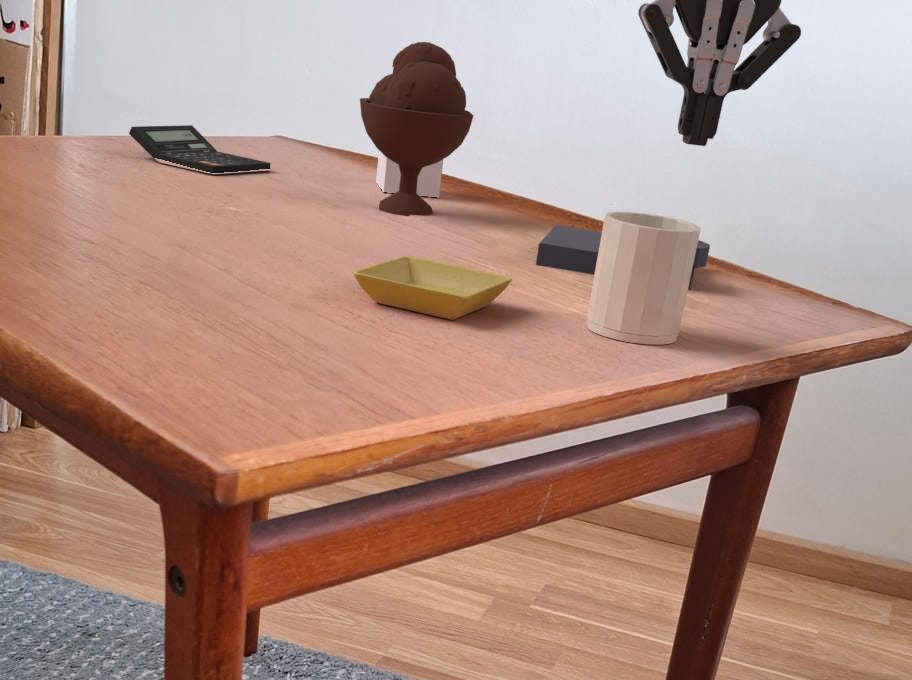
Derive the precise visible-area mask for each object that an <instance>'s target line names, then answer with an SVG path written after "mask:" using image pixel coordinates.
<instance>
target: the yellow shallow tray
mask: <svg viewBox="0 0 912 680" xmlns="http://www.w3.org/2000/svg"><path fill="white" fill-rule="evenodd" d="M352 274H353V277H354V278H355V280H356V282H357V283H358V285H359V286H360V287H361V288H362V290H363V291H364V292H365V293H366V295H367V296H368V297H369V298H370V299H371V300H372V301H373V302H375V303H376V304H380V305H385V306H390V307H393V308H398V309H402V310H407V311H411V312H416V313H420V314H424V315H428V316H433V317H438V318H442V319H446V320H451V321H452V320H457V319H460V318H461V317H463V316H465V315H468V314H470V313H472V312H475V311H477V310H479V309H482V308H484V307H486V306H488V305H489V304H491V303H492V302H493V301H495V300H496V299H497V298H498V297H499V296H500V295H501V294H502V293H503V292H504V291H505V290H506V289H507V288H508V287H509V285H510V284H511V283H512V281H513V278H511V277H509V276H506V275H501V274H497V273H493V272H492V273H491V272H487V271H484V270H477V269H474V268H473V269H472V268H469V267H463V266H459V265H455V264H449V263H445V262H440V261H435V260H432V259H431V260H430V259H426V258H422V257H416V256H410V255H409V256H407V255H404V256H400V257H397V258H393V259H390V260H387V261H383V262H381V263H377V264H373V265H370V266H366V267H363V268H360V269H356V270H354V271H353V273H352Z"/></svg>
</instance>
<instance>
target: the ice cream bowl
mask: <svg viewBox="0 0 912 680" xmlns="http://www.w3.org/2000/svg"><path fill="white" fill-rule="evenodd" d="M391 66H392V73H390V74H387V75H385V76H383V78H381V79H380V80H378V82H376V84H375V85H374V87H373V88H372V90H371V93H370V94H369V96H368V97H361V98H359V103H360V104H359V105H360V106H359V107H360V116H361V119H362V123H363V127H364V130H365V132H366V134H367V136H368V137H369V139H370V140H371V142H372V143H373V145H374V147H376V149H377V150H378V151H379V150H380V151H381V152H382V153H383V154H384V155H385V156H386V157H387V158H388V159H390V160H392V161H393V162H395V163H396V164H398V165H399V169H400V173H401V178H400V185H399V191H398V192H396V193H394V194H390V195H388V196H387V197H385V198H383V199H381V200H380V201H379V204H378V206H379V207H378V209H379V210H381V211H383V212H387V213H389V214H394V215H395V214H397V215H403V216H408V217H409V216H431V215H434V211H433V208H432V206H431V204H429V203H428V202H426V200H425V199H424V198H423V197H421V196H419V195H418V194H417V180H418V175H419V173H420V171H421V169H422V168H423V167H426V166H429V165H432V164H435V163H438V162H439V161H441V160H443V161H444V159H447V158H448V157H449V156H450V155H452V154H453V153H454V152H456V150H457V149H458V148H459V147H461V146H462V144H463V143H464V142H465V139H466V137H467V136H468V134H469V132H470V130H471V125H472V122H473V120H474V114H473V113H472V112H470V111H469V110H466V106H467V95H466V90H465V89H464V87H463V86H462V84H461V82H460V80H459V79H458V78H457V70H456V64H455V61H454V60H453V58H452V57H451V55H450V53H448V51H447V50H445V49H444V48H443V47H441V46H439V45H436V44H434V43H432V42H428V41H417V42H415V43H411V44H409V45H408V46H405V47H404V48H403V49H402V50H399V52H398V53H397V54H396V55H395V56H394V58H393V60H392V65H391Z"/></svg>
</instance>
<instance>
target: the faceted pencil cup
mask: <svg viewBox="0 0 912 680" xmlns="http://www.w3.org/2000/svg"><path fill="white" fill-rule="evenodd" d="M601 232H602V235H601V241H600V246H599V252H598V258H597V263H596V269H595V275H594V274H593V275H594V276H593V281H592V286H591V292H590V298H589V303H588V310H587V315H586V324H585V325H586V328H587V329H588V330H589V331H591V332H593V333H595V334H597V335H599V336H602V337H605V338H608V339H612V340H616V341H620V342H626V343H631V344H637V345H651V346H662V345H669V344H674V343H676V342H677V340H678V339H679V333H680V328H681V325H682V319H683V313H684V311H685V304H686V300H687V295H688V291H689V290H688V286H689V282H690V277H691V272H692V267H693V263H694V258H695V253H696V248H697V244H698V240H700V234H701V226H699V225H697V224H695V223H693V222H690V221H686V220H682V219H679V218H675V217H669V216H664V215H659V214H652V213H644V212H635V211H609V212H606V213H605V215H604V218H603V223H602V230H601Z"/></svg>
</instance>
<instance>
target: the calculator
mask: <svg viewBox="0 0 912 680" xmlns="http://www.w3.org/2000/svg"><path fill="white" fill-rule="evenodd" d="M128 135H129V136H131V138H133V139H134V141H136V143H137V144H139V146H141V147H142V149H144V150H145V151H146V153H148V155H150V157H151V158H152V159H154V158H157V159H162V160H165V161H169V162H172V163H176V164H180V165H183V166H187V167H190V168H195V169H198V170H202V171H206V172H210V173H224V172H238V171H250V170H259V169H270V170H271V162H269V161H265V160H264V161H263V160H259V159H254V158H250V157H246V156H241V155H237V154H236V155H235V154H230V153H227V152H221V151H218V150H217V149H216V148H215V147H214V145H212V144H211V143H210V142H209V141H208V140H207V139H206V138H205V137H204V135H202V134H201V133H200V132H199V131H198V130H197V128H195V127H194V126H193V125H192V124H191V125H190V124H189V125H187V124H186V125H185V124H184V125H148V126H147V125H145V126H144V125H143V126H142V125H141V126H131V127H130V129H129V132H128Z"/></svg>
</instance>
